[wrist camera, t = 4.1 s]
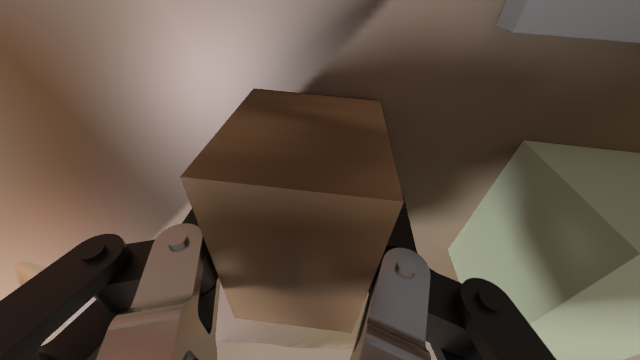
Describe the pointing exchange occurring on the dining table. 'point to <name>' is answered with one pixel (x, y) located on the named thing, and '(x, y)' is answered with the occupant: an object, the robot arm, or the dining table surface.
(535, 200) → the sage brick
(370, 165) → the walnut brick
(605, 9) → the plate
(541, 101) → the dining table surface
